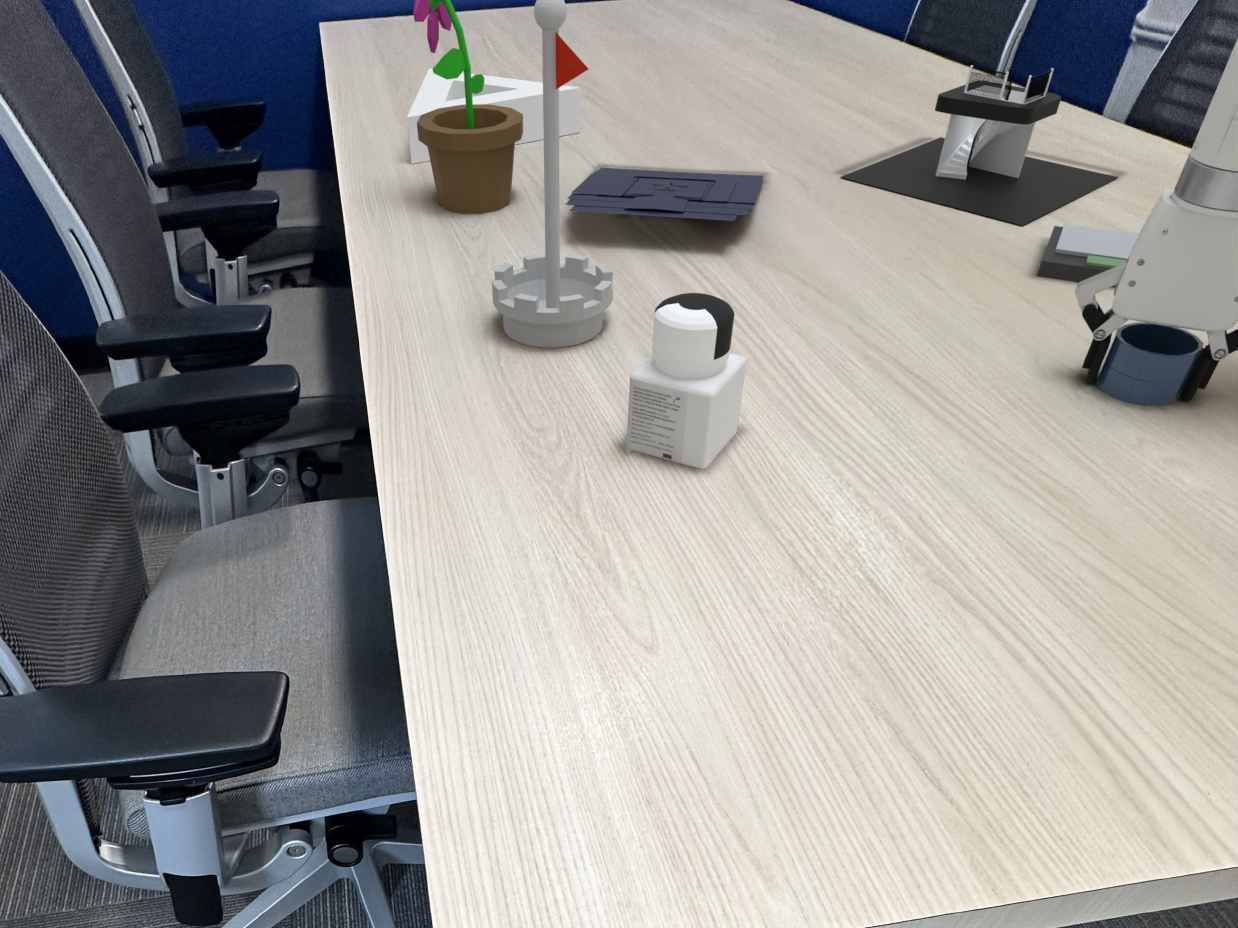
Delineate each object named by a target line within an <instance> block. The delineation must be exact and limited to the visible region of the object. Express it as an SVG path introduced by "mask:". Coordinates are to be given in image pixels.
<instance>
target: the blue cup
mask: <svg viewBox="0 0 1238 928" xmlns="http://www.w3.org/2000/svg"><path fill="white" fill-rule="evenodd" d="M1111 340H1112V341H1111V342H1110V345H1109V348H1108V350H1107V352H1106V355H1105V357H1104V360H1103V362H1102V364H1101V367H1100V369H1099V371H1098V374H1097V376H1096V379H1095V383H1096V385H1097V387H1098V389H1099V390H1100V391H1101V392H1103V393H1104V394H1106V395H1107V396H1109V397H1110V398H1113V399H1116V400H1118V401H1121V402H1124V403H1127V404H1133V405H1138V406H1144V407H1145V406H1146V407H1161V406H1165V405H1170V404H1174V403H1175V402H1176V401H1177V400H1179V399H1180V398H1181V396H1182V393H1183V392H1184V387H1185V385H1186V383H1187V381H1188V379H1189V377H1190V375H1191V373H1192V371H1193V369H1194V367H1195V365H1196V363H1197V361H1198V359H1199V357H1200V355H1201V352H1202V350H1203V348H1204V342H1203V341H1202V340H1201V339H1200V337H1198V336H1197V335H1196V334H1194V333H1192V332H1191V331H1188V330H1187V329H1184V328H1178V327H1171V326H1165V325H1159V324H1153V323H1146V322H1140V321H1136V322H1131V323H1127V324H1123V325H1121V326H1120V327H1119V328H1118V329H1116V330H1115V334H1114V336H1113V338H1112V339H1111Z"/></svg>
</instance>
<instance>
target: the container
mask: <svg viewBox="0 0 1238 928" xmlns="http://www.w3.org/2000/svg"><path fill="white" fill-rule="evenodd" d="M653 316H654V317H653V331H652V344H651V345H652V346H651V347H652V348H651V355H650V356H648V357H647V359H645V360H644V362H642V363H641V364H640V365H639V366H638V367H637V368H636V369H635V370H634V371H633V372H631V374H630V376H629V391H628V408H627V411H628V412H627V414H628V415H627V429H626V430H627V431H626V446H625V447H626V453H627V454H630V453H631V452H632V451H634V452H638V453H642V454H646V455H648V456H653V457H657V458H660V459H663V460H667V461H671V462H674V463H677V464H681V465H686V466H689V467H693V468H697V469H700V470H704V469H705V470H706V468H707V467H708V466H709V465H710V464H711V463H712V462H713V461H714V459H715V458H716V457H717V456H718V454H719V453H720V452H721V451H722V450H723V449H724V448H725V446H726V445H727V444H728V443H729V442H730V441H731V439H732V438H733V437H734V436H735V435H736V433H737V432H738V427H739V426H738V425H739V419H740V411H741V404H742V398H743V392H744V391H743V390H744V382H745V377H746V370H747V362H748V361H747V357H745V356H743V355H739V354H735V353H731V344H732V339H733V338H732V337H733V330H734V329H733V328H734V322H735V321H734V320H735V311H734V309H733V308H732V306H731V304H730V303H728V302H727V301H725V300H724V299H722V298H720V297H717V296H715V295H713V294H712V295H711V294H709V293H702V292H686V293H679V294H675V295H673V296H670V297H668V298H665V299H664V300H662V301H660V303H659V304H658V305H657V306H656V307H655V309H654V315H653Z"/></svg>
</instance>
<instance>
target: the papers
mask: <svg viewBox="0 0 1238 928" xmlns="http://www.w3.org/2000/svg"><path fill="white" fill-rule="evenodd" d="M763 183H764V175H761V174H758V175H757V174H736V173H735V174H733V173H714V172H713V173H711V172H689V171H687V172H686V171H669V170H668V171H667V170H652V169H651V170H650V169H635V168H619V167H617V168H616V167H600V168H599V169H598V170H595V171H594V172H593V173H591V174H589V175H588V176H587V177H586V178H585V179H584V180H583V181H582V182H581V183H580V184H579V185H577V186H576V188H575V189H573V190H572V191H571V194H570V195H569V196H567V198H566V199H567V200H568V201H567V202H565V205H566V206H571V208H569V210H568V212H575V213H576V212H578V213H579V212H580V213H596V214H597V213H598V214H613V215H615V214H616V215H629V216H630V215H632V216H648V217H649V216H651V217H666V218H679V219H680V218H681V219H682V218H683V219H696V220H697V219H698V220H715V221H729V222H735V220H736V218H737V216H747V215H748V214H749V211H750V210H753V209H754V207H755V205H756V203H757V201H758V198H759V194H760V191H761V188H762V186H763Z"/></svg>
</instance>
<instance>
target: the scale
mask: <svg viewBox="0 0 1238 928" xmlns="http://www.w3.org/2000/svg"><path fill="white" fill-rule="evenodd" d="M1138 235H1139V233H1137V232H1129V231H1121V230H1114V229H1107V228H1099V227H1092V226H1091V227H1090V226H1084V225H1075V224H1068V223H1064V224H1063V226H1059V225H1054V226H1053V229H1052V231H1051V234H1050V237H1049V240H1048V242H1047V245H1046V248H1045V251H1044V253H1043V256H1042V259H1041V262H1040V265H1039V267H1038V271H1037V274H1036V277H1040V278H1047V279H1053V280H1061V281H1066V282H1074V283H1079V282H1081V281H1083V280H1085V279H1088V278H1090V277H1093V276H1095V275H1097V274H1100V273H1102V272H1105V271H1107V270H1109V269H1112V268H1114V267H1117V266H1119V265H1121V264H1124V263H1126V261H1127V258H1128V256H1129V254H1130V252H1131V250H1132V248H1133V245H1134V243H1135V241H1136V239H1137V237H1138ZM1115 287H1116V285H1115V286H1112V287H1111V288H1113V289H1115Z"/></svg>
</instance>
